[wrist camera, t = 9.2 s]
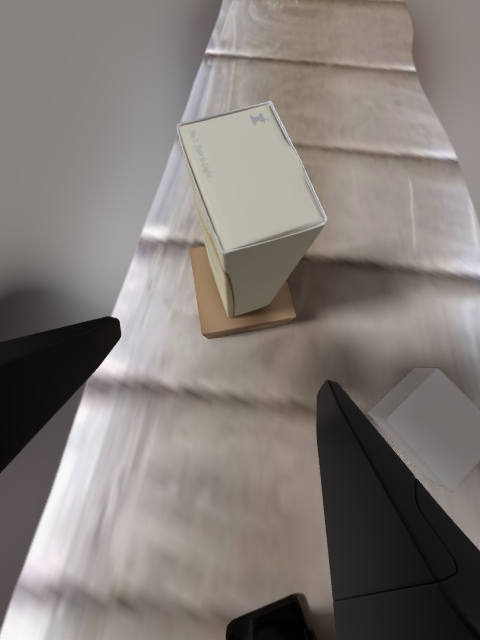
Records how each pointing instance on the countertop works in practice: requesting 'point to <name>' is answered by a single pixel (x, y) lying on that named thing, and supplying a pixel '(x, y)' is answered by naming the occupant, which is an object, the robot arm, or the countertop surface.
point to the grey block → (432, 425)
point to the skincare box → (250, 202)
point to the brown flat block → (215, 313)
